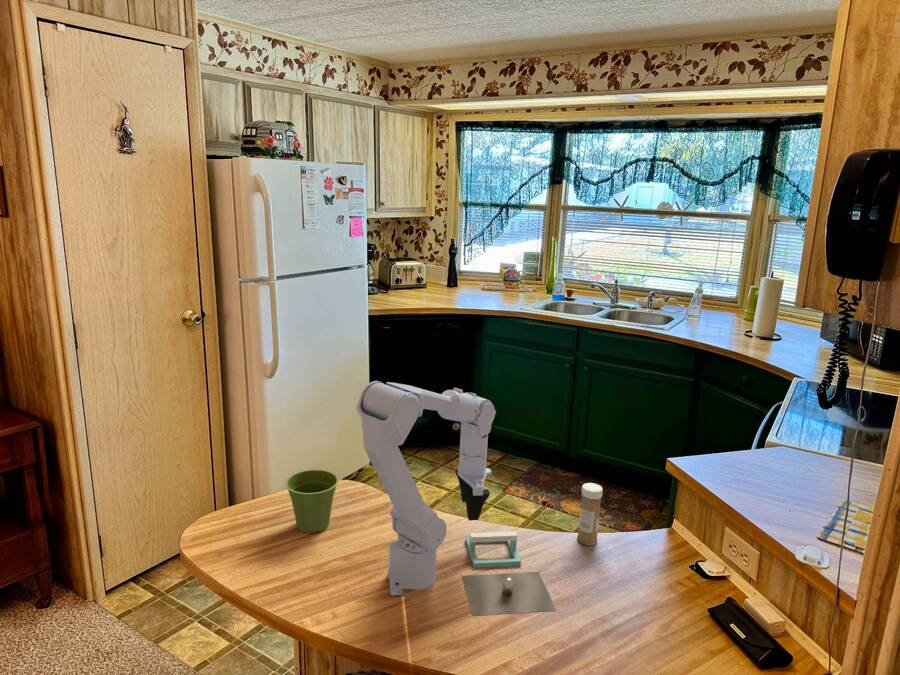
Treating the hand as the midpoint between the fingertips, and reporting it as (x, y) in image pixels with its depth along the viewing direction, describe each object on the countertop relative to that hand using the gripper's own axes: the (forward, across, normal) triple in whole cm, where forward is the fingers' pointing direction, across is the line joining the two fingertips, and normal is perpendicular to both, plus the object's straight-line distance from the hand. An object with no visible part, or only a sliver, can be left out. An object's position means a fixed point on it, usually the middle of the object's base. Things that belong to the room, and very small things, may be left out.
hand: (469, 510), depth 132 cm
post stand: (+10, -16, -5) cm, 19 cm away
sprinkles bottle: (+10, +2, -28) cm, 30 cm away
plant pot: (+10, +13, +34) cm, 38 cm away
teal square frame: (+10, -2, -5) cm, 11 cm away
